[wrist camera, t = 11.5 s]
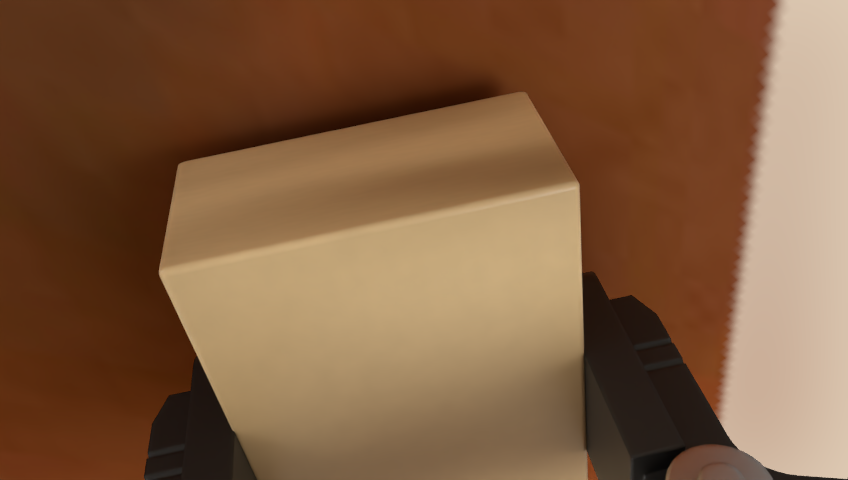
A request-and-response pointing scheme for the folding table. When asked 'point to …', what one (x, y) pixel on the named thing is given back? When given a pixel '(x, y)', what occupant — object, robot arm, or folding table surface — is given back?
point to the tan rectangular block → (390, 297)
